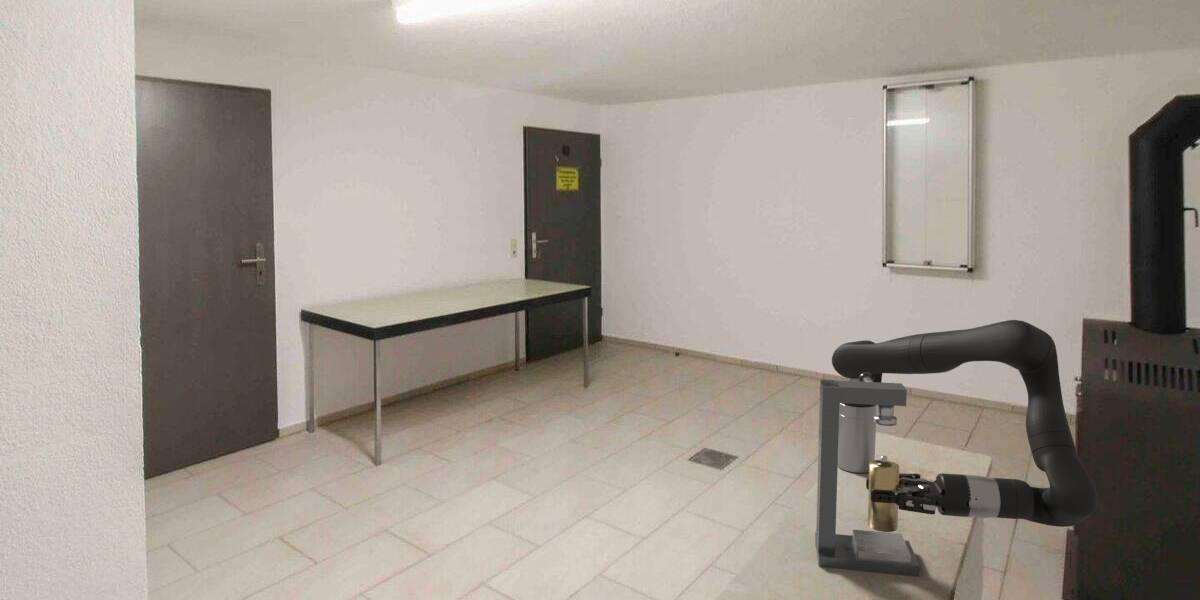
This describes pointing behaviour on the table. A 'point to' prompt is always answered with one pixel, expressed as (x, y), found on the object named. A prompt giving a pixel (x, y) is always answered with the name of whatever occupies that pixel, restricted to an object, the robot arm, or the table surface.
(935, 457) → the table surface
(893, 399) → the press
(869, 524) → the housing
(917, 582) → the table surface
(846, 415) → the robot arm
